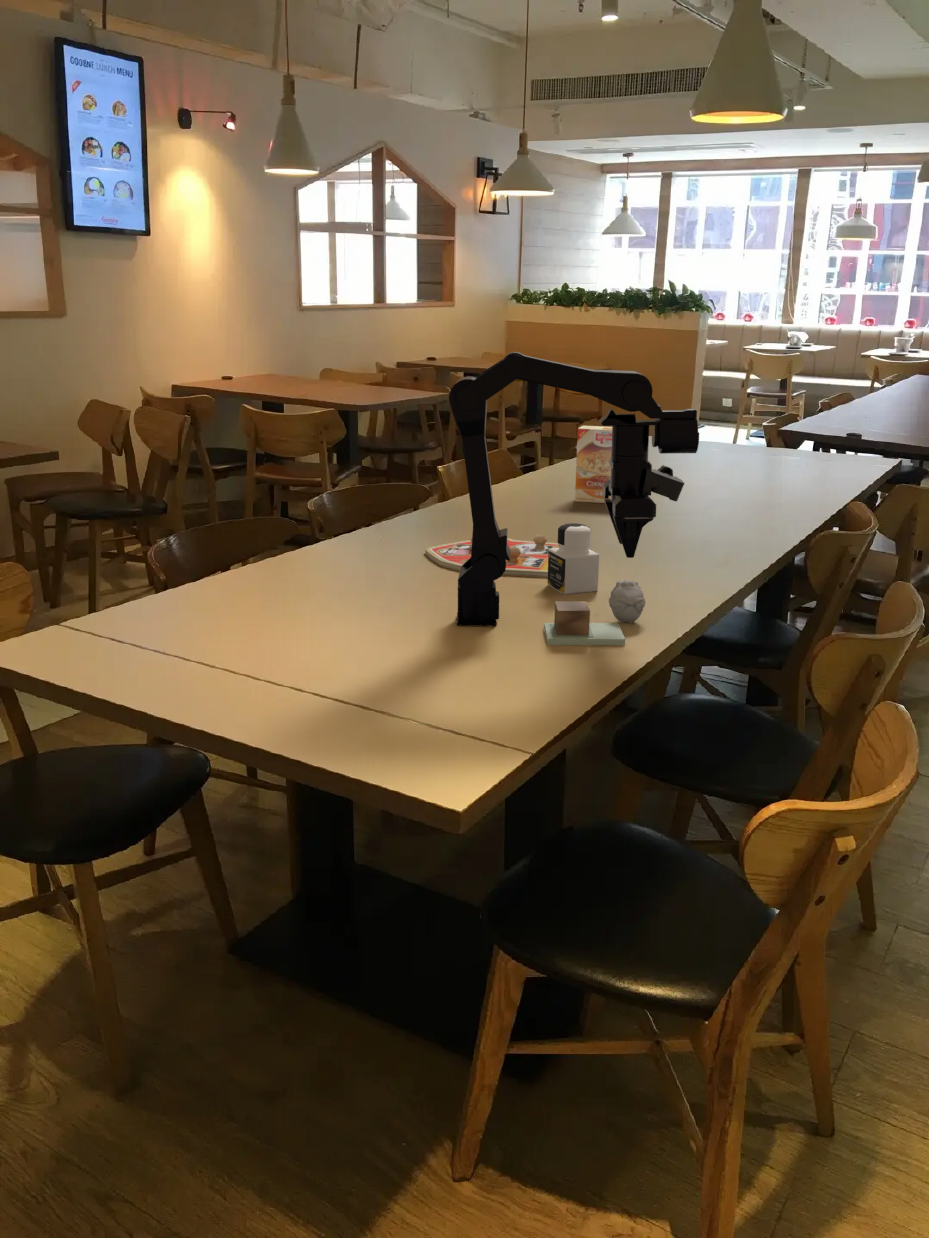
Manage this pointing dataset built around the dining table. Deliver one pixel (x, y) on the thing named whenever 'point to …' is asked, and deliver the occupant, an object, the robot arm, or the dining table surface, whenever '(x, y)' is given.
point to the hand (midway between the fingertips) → (626, 550)
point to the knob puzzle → (523, 560)
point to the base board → (597, 635)
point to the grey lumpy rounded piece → (627, 601)
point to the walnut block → (572, 618)
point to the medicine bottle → (573, 561)
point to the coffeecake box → (592, 463)
